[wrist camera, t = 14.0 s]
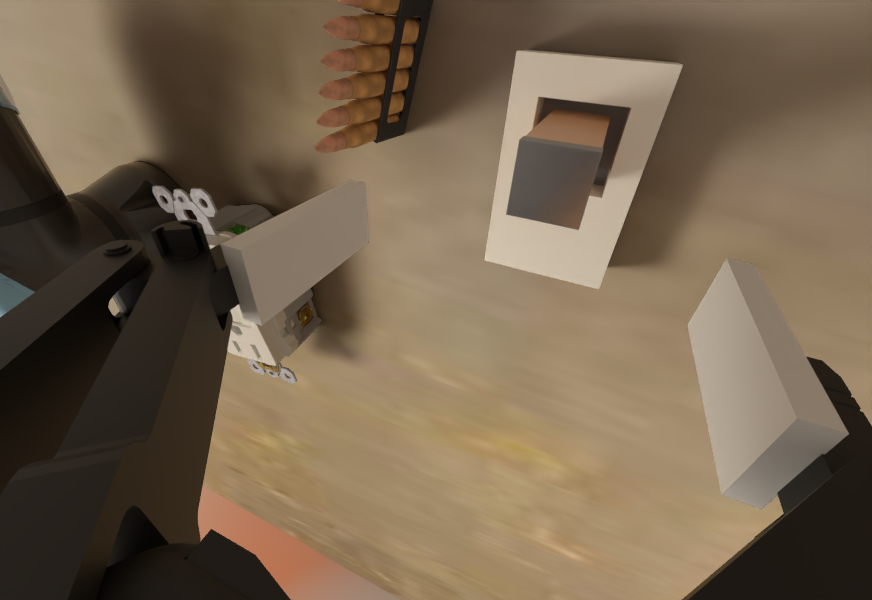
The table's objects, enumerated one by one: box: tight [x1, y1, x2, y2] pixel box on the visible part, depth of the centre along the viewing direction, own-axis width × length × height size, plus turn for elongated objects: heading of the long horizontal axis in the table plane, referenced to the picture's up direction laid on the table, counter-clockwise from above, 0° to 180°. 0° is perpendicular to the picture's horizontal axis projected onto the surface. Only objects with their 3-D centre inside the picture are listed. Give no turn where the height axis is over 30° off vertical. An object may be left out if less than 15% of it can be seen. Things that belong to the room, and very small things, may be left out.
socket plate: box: [485, 50, 683, 289], centre depth 30 cm, size 10×16×4 cm, turn 176°
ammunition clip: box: [315, 0, 433, 153], centre depth 28 cm, size 11×2×12 cm, turn 163°
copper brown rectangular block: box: [506, 109, 611, 230], centre depth 25 cm, size 4×4×12 cm
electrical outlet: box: [152, 185, 322, 384], centre depth 49 cm, size 12×28×10 cm, turn 4°
